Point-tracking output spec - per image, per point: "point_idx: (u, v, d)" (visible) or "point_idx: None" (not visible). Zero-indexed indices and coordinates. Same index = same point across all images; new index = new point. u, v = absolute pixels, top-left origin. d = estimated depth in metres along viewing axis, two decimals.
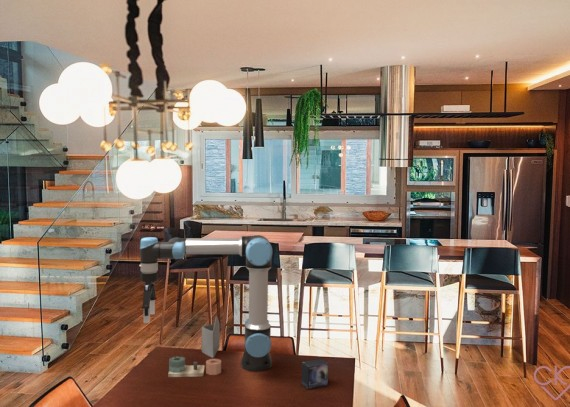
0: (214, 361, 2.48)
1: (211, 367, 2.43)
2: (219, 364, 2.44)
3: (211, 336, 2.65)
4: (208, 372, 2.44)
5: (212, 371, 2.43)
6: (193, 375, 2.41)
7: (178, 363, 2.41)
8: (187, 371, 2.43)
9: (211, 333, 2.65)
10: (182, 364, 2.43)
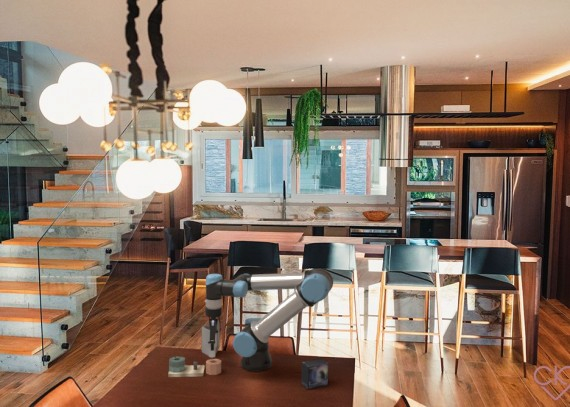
0: (214, 361, 2.48)
1: (211, 367, 2.43)
2: (219, 364, 2.44)
3: None
4: (208, 372, 2.44)
5: (212, 371, 2.43)
6: (193, 375, 2.41)
7: (178, 363, 2.41)
8: (187, 371, 2.43)
9: None
10: (182, 364, 2.43)
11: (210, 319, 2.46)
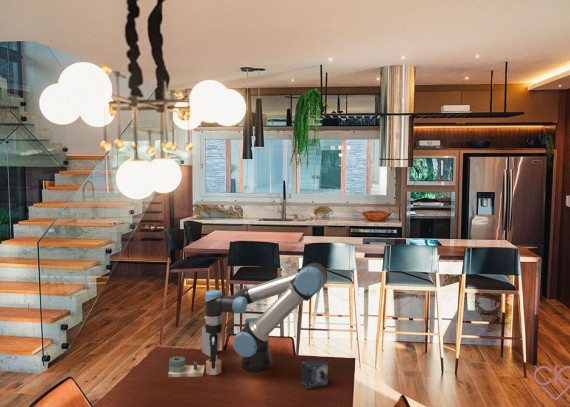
0: None
1: None
2: (219, 364, 2.44)
3: None
4: (208, 372, 2.44)
5: None
6: (193, 375, 2.41)
7: (178, 363, 2.41)
8: (187, 371, 2.43)
9: None
10: (182, 364, 2.43)
11: (210, 335, 2.46)
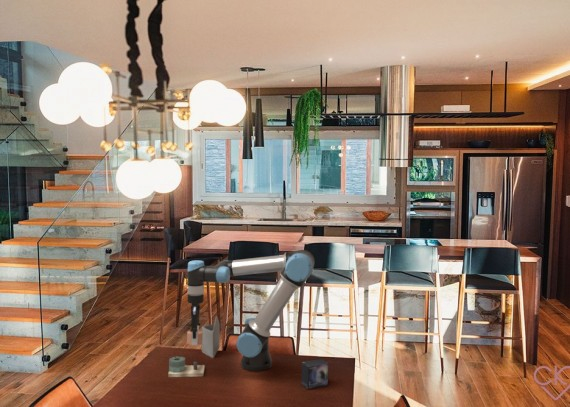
0: None
1: None
2: (200, 334, 2.43)
3: (211, 336, 2.65)
4: (189, 342, 2.42)
5: None
6: (193, 375, 2.41)
7: (178, 363, 2.41)
8: (187, 371, 2.43)
9: (211, 333, 2.65)
10: (182, 364, 2.43)
11: (192, 305, 2.45)
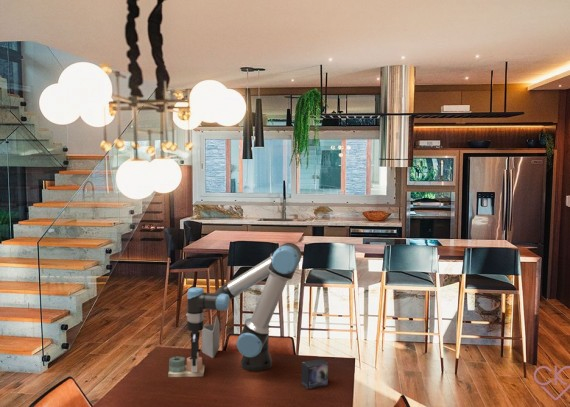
0: None
1: None
2: (200, 361, 2.44)
3: (211, 336, 2.65)
4: (189, 369, 2.43)
5: None
6: (193, 375, 2.41)
7: (178, 363, 2.41)
8: (187, 371, 2.43)
9: (211, 333, 2.65)
10: (182, 364, 2.43)
11: (192, 332, 2.45)
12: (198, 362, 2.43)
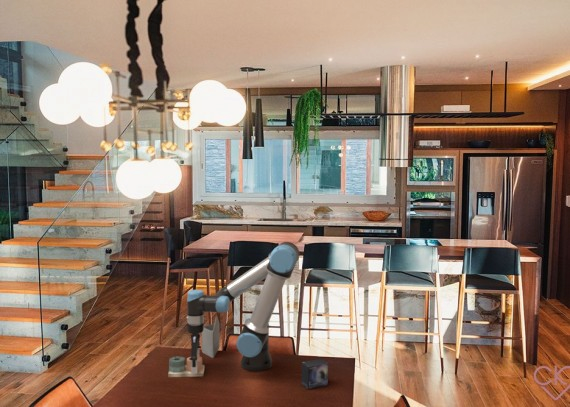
0: None
1: None
2: (200, 361, 2.44)
3: (211, 336, 2.65)
4: (189, 369, 2.43)
5: None
6: (193, 375, 2.41)
7: (178, 363, 2.41)
8: (187, 371, 2.43)
9: (211, 333, 2.65)
10: (182, 364, 2.43)
11: None
12: (198, 362, 2.43)
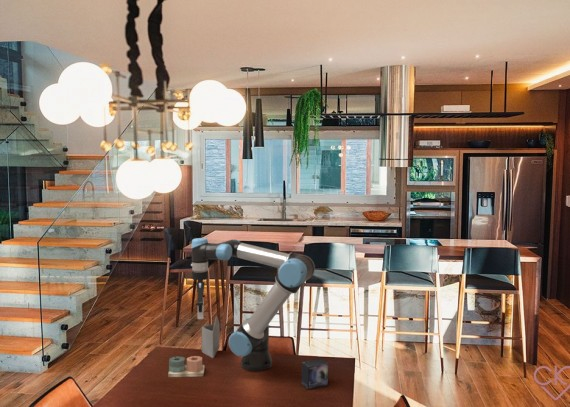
0: (195, 358, 2.47)
1: (192, 364, 2.42)
2: (200, 361, 2.44)
3: (211, 336, 2.65)
4: (189, 369, 2.43)
5: (193, 368, 2.42)
6: (193, 375, 2.41)
7: (178, 363, 2.41)
8: (187, 371, 2.43)
9: (211, 333, 2.65)
10: (182, 364, 2.43)
11: (197, 283, 2.49)
12: (198, 362, 2.43)
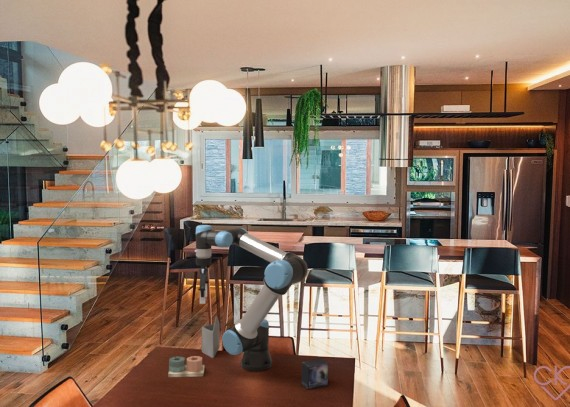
0: (195, 358, 2.47)
1: (192, 364, 2.42)
2: (200, 361, 2.44)
3: (211, 336, 2.65)
4: (189, 369, 2.43)
5: (193, 368, 2.42)
6: (193, 375, 2.41)
7: (178, 363, 2.41)
8: (187, 371, 2.43)
9: (211, 333, 2.65)
10: (182, 364, 2.43)
11: (200, 269, 2.55)
12: (198, 362, 2.43)
